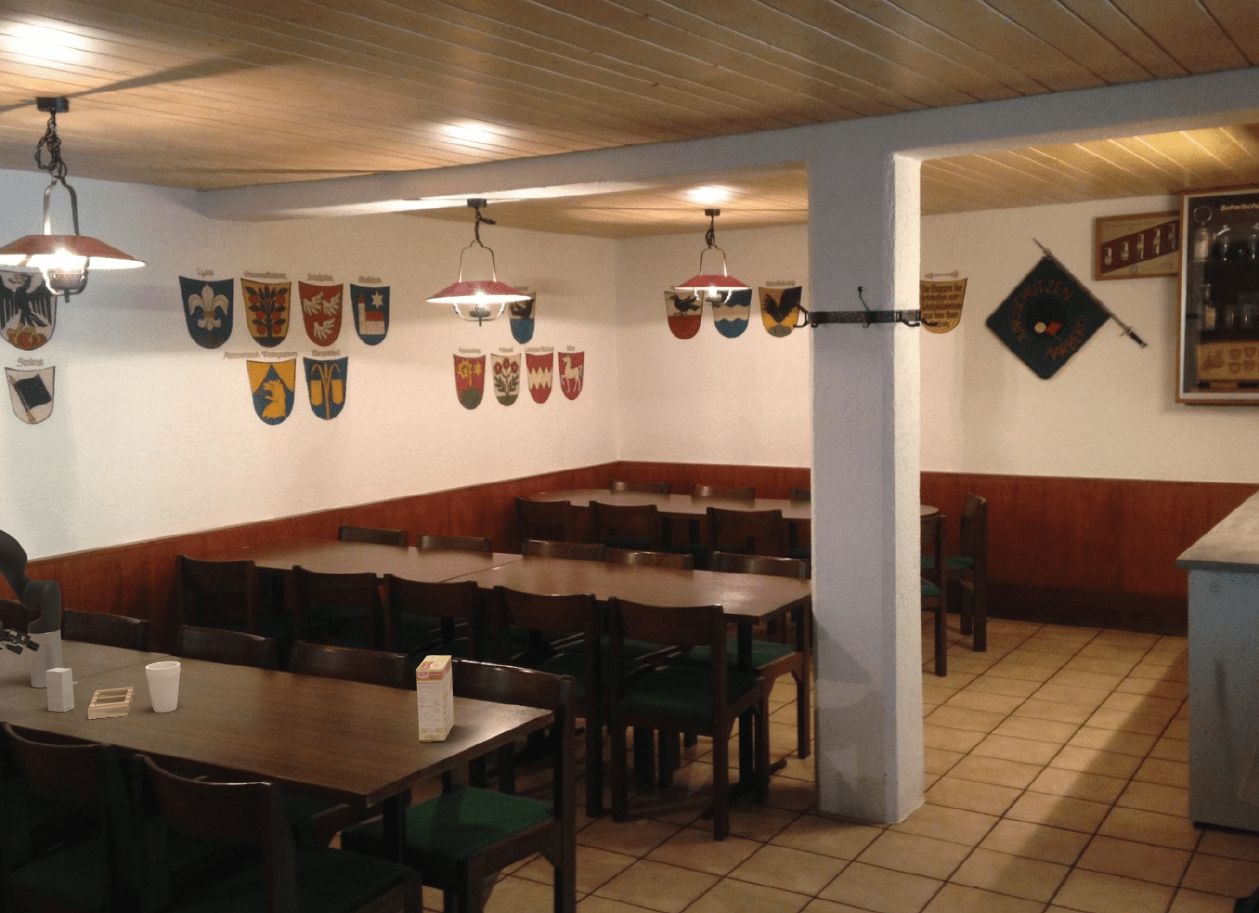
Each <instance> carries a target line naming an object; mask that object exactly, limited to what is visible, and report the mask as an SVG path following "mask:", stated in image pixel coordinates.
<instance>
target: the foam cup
mask: <svg viewBox="0 0 1259 913" xmlns="http://www.w3.org/2000/svg"><path fill="white" fill-rule="evenodd" d="M144 670H145V676H146V680H147V684H148V685H147V686H148V690H149V695H150V699H151V700H150V701H151V705H152V709H153V712H154V711H155V713H168V712H172V711H175V710H177V709H176V708H178V699H179V688H180V674H181V670H182V669H181V662H179V661H172V660H171V661H169V660H168V661H159V662H153V663H150V664H147V665H146V666H145V669H144Z"/></svg>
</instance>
